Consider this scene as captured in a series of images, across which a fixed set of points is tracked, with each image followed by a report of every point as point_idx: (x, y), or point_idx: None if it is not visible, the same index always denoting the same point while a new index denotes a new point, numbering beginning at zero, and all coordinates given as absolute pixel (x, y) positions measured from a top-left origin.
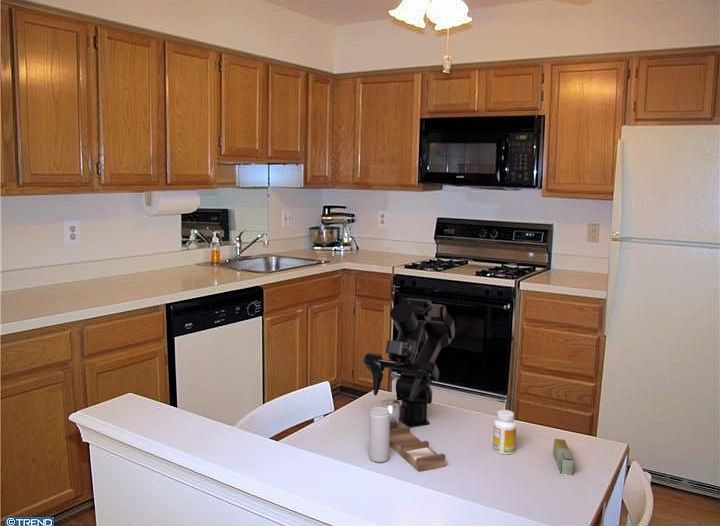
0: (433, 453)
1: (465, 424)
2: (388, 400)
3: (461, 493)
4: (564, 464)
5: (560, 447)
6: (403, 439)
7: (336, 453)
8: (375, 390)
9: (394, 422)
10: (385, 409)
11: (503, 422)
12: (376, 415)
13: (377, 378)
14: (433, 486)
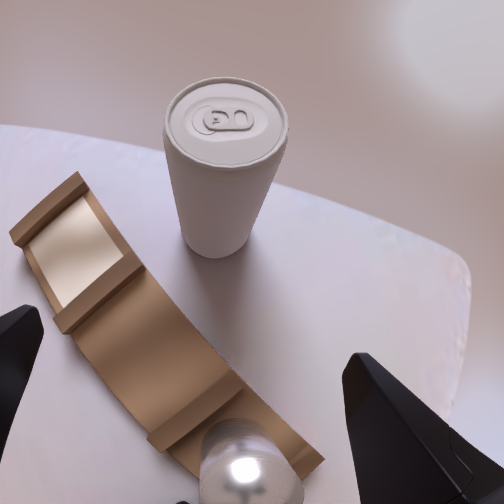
0: (43, 270)
1: None
2: None
3: (16, 134)
4: None
5: None
6: (155, 363)
7: (350, 229)
8: (369, 369)
9: (212, 438)
10: (197, 151)
11: None
12: (233, 86)
13: (428, 457)
14: (61, 136)
